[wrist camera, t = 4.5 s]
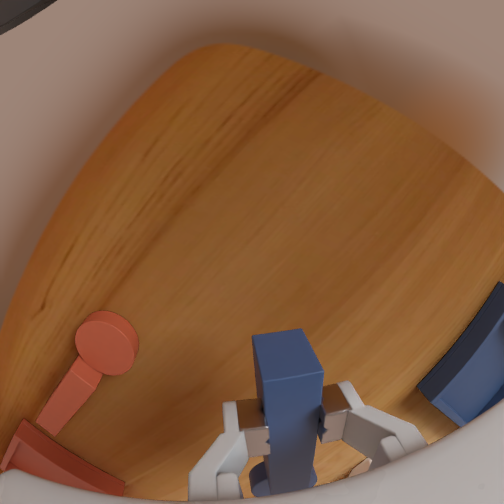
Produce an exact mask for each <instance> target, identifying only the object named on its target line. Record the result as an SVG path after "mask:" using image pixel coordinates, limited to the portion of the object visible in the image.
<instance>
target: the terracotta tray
mask: <svg viewBox="0 0 504 504" xmlns="http://www.w3.org/2000/svg"><path fill="white" fill-rule="evenodd" d="M0 468H1V469H2V470H3V471H4V472H6V471H8V470H10V469H19V470H21V471H24V472H27V473H29V474H32V475H35V476H38V477H41V478H44V479H47V480H50V481H54V482H57V483H61V484H64V485H68V486H72V487H76V488H80V489H84V490H89V491H94V492H99V493H104V494H110V495H116V496H123V491H124V486H125V482H123V481H121V480H119V479H117V478H115V477H113V476H111V475H109V474H107V473H105V472H103V471H102V470H100V469H98V468H96V467H94V466H93V465H91V464H89V463H87V462H86V461H84V460H82V459H81V458H79V457H77V456H76V455H74V454H73V453H71V452H69V451H68V450H66V449H65V448H63V447H62V446H60V445H59V444H57V443H56V442H55V441H53V440H52V439H50V438H49V437H47V436H46V435H45V434H43V433H42V432H41V431H39V430H38V429H37V428H35V427H34V426H33V425H32V424H30V423H29V422H28V421H27V420H25V419H23V420H22V422H21V423H20V425H19V427H18V429H17V430H16V432H15V434H14V436H13V438H12V440H11V442H10V444H9V447H8V449H7V451H6V454H5V456H4V458H3V461H2V463H1V465H0Z"/></svg>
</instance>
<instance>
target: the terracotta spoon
mask: <svg viewBox="0 0 504 504" xmlns="http://www.w3.org/2000/svg"><path fill="white" fill-rule="evenodd" d="M75 344H76V348H77V350H78V353H79V355H78V357H77V358H76V359H75V361H74V362H73V364H72V365H71V366H70V368H69V369H68V371H67V372H66V374H65V375H64V377H63V378H62V380H61V381H60V382H59V384H58V385H57V387H56V388H55V390H54V391H53V393H52V395H51V396H50V398H49V399H48V401H47V402H46V404H45V406H44V407H43V409H42V411H41V413H40V414H39V416H38V418H37V420H36V423H37V424H39V425H40V426H41V427H43V428H44V429H45V430H47V431H48V432H49V433H51V434H52V435H54V436H56V435H57V434H58V433H59V431H60V430H61V429H62V428H63V427H64V426H65V424H66V423H67V422H68V421H69V420H70V419H71V417H72V416H73V415H74V414H75V413H76V412H77V411H78V409H79V408H80V407H81V406H82V405H83V404H84V402H85V401H86V400H87V399H88V398H89V397H90V396H91V394H92V393H93V392H94V391H95V390H96V388H97V386H98V384H99V382H100V380H101V378H102V375H103V374H107V375H120V374H123V373H125V372H127V371H128V370H129V369H130V368H131V367H132V365H133V363H134V360H135V358H136V355H137V353H138V350H139V340H138V336H137V334H136V332H135V330H134V328H133V327H132V325H131V324H130V323H129V322H128V321H127V320H126V319H124V318H123V317H121V316H120V315H118V314H116V313H113V312H110V311H97V312H94V313H92V314H90V315H89V316H88V317H87V318H86V319H85V320H84V322H83V323H82V324H81V325H80V327H79V328H78V330H77V332H76V335H75Z"/></svg>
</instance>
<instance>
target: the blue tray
mask: <svg viewBox="0 0 504 504" xmlns="http://www.w3.org/2000/svg"><path fill="white" fill-rule="evenodd" d="M417 387H418V389H419V390H420V391H421V392H422V393H423V394H424V396H425V397H426V398H427V399H428V400H429V401H430V403H432V404H433V405H434V406H435V407H436V408H438V409H439V410H440V411H441V412H443V413H444V414H445V415H446V416H447V417H449V418H450V419H451V420H452V421H453V422H455V423H456V424H457V425H458V426H460V427H462V426H464V425H465V424H467V423H469V422H470V421H472V420H473V419H475V418H476V417H478V416H479V415H481V414H482V413H484V412H485V411H487V410H488V409H490V408H491V407H492V406H494V405H495V404H497V403H498V402H499V401H501V400H502V399H503V398H504V284H503V283H502V282H500V281H499V282H498V284H497V286H496V287H495V289H494V290H493V292H492V293H491V295H490V297H489V298H488V300H487V301H486V303H485V304H484V305H483V307H482V308H481V310H480V311H479V313H478V314H477V315H476V317H475V318H474V320H473V321H472V322H471V324H470V325H469V326H468V328H467V329H466V330H465V332H464V333H463V334H462V335H461V337H460V338H459V339H458V340H457V342H456V343H455V344H454V345H453V346H452V348H451V349H450V350H449V351H448V352H447V354H446V355H445V356H444V357H443V358H442V359H441V361H440V362H439V363H438V364H437V365H436V366H435V367H434V368H433V369H432V370H431V372H430V373H429V374H428V375H427V376H426V377H425V378H424V379H423V380H422V381H421V382H420V383H419V384H418V385H417Z"/></svg>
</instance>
